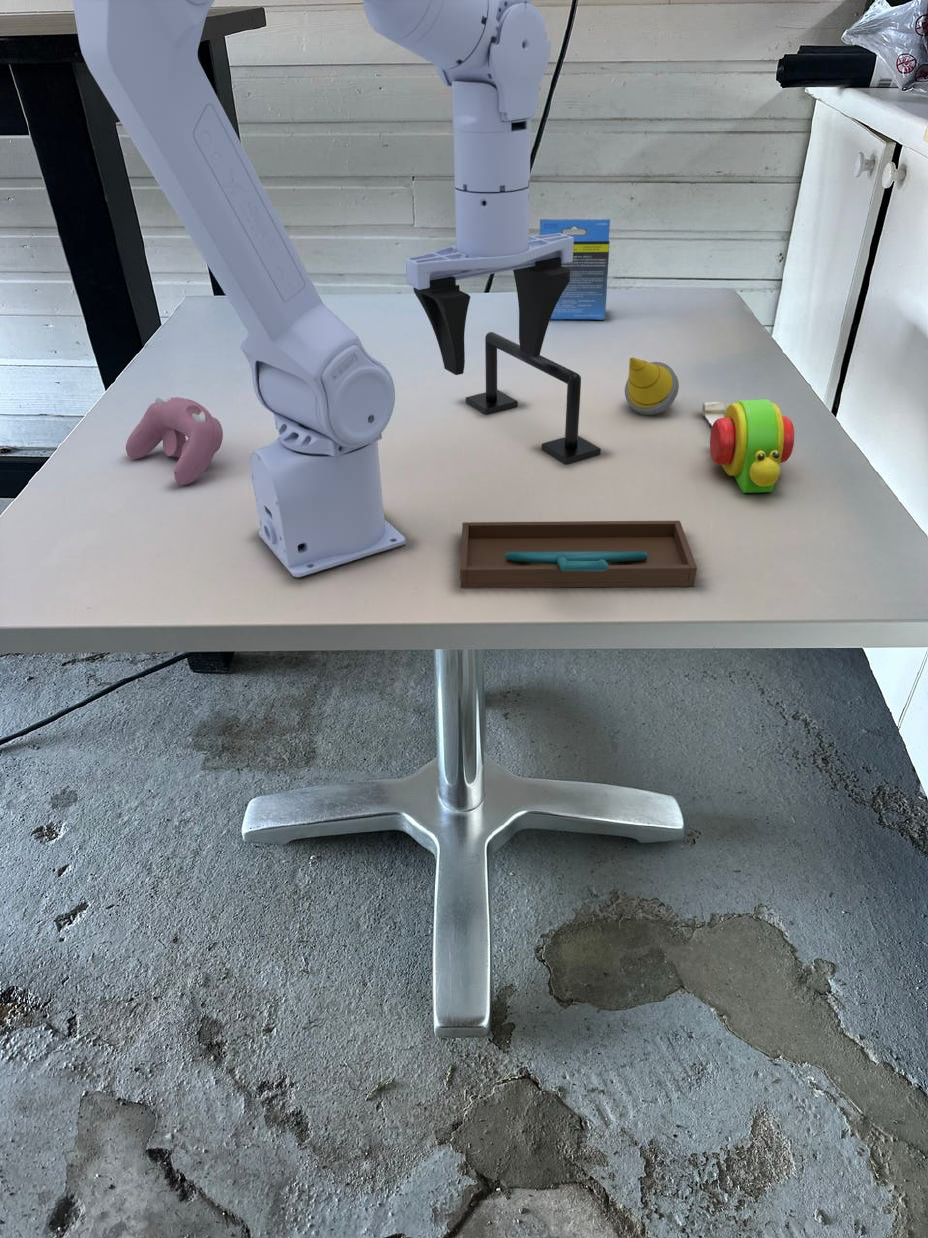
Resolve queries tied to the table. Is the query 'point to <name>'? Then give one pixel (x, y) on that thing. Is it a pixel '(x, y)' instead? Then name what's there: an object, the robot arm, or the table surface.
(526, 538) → the tray
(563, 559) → the hanger
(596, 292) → the tape cartridge
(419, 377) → the table surface
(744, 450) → the toy measuring tape
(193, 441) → the video game controller
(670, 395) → the yellow tiered cone
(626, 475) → the table surface
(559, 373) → the rail
